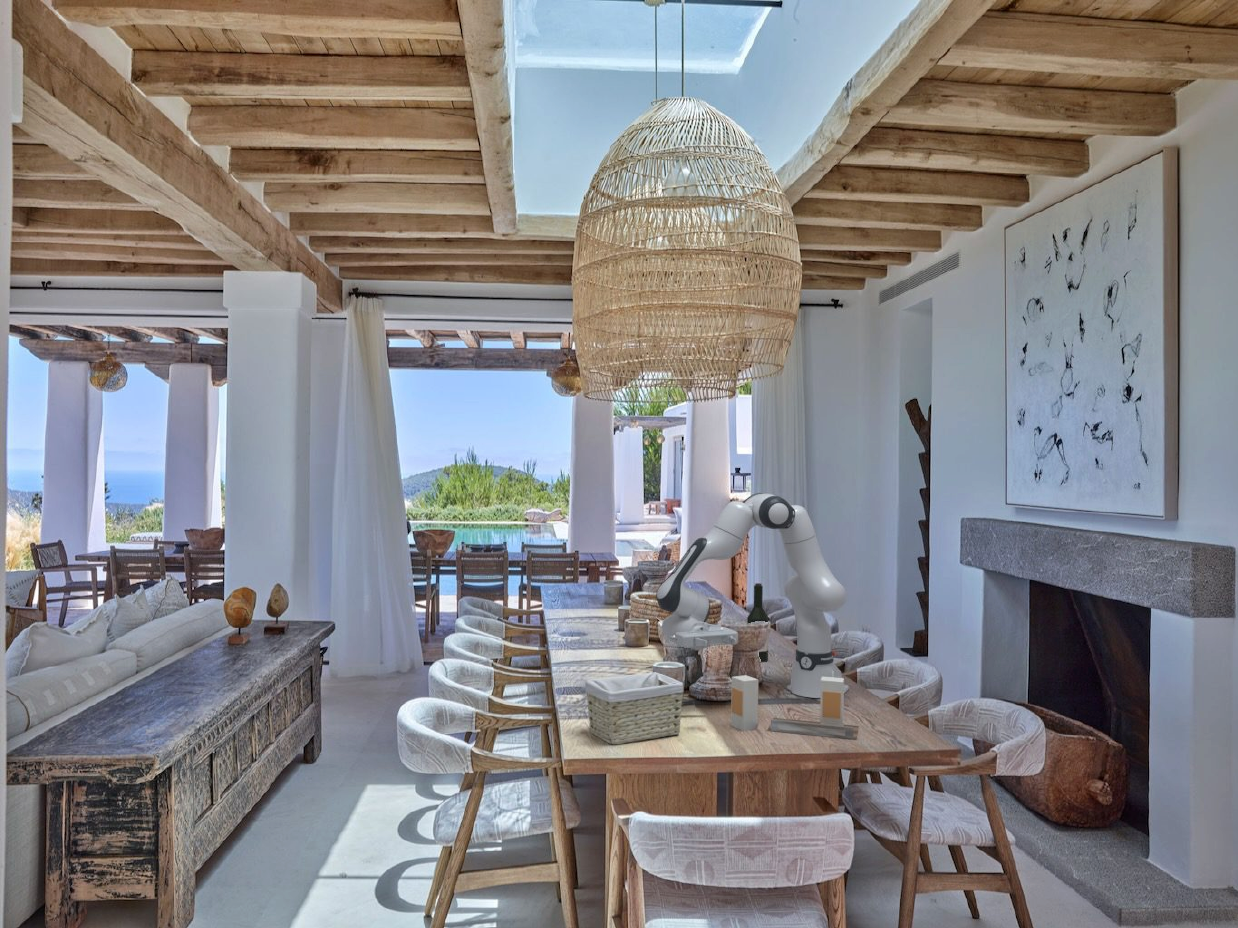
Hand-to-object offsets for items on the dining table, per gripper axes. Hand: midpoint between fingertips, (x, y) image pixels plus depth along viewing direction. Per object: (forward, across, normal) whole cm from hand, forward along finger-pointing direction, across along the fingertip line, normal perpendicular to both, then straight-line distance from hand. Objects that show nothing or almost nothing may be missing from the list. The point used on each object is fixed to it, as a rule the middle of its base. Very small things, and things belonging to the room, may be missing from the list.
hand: (721, 642), depth 260 cm
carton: (+29, +18, +20) cm, 40 cm away
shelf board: (+26, +14, +22) cm, 36 cm away
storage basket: (+4, -31, +23) cm, 39 cm away
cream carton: (+12, 0, +22) cm, 25 cm away
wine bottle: (-62, +60, +21) cm, 89 cm away
